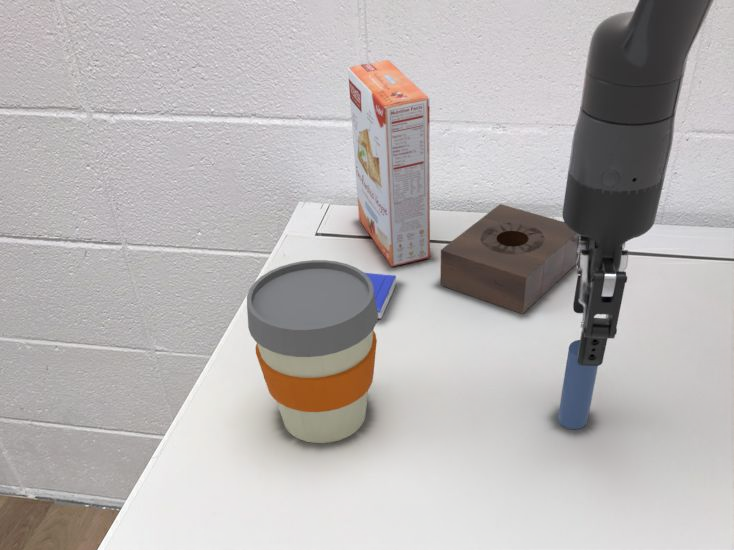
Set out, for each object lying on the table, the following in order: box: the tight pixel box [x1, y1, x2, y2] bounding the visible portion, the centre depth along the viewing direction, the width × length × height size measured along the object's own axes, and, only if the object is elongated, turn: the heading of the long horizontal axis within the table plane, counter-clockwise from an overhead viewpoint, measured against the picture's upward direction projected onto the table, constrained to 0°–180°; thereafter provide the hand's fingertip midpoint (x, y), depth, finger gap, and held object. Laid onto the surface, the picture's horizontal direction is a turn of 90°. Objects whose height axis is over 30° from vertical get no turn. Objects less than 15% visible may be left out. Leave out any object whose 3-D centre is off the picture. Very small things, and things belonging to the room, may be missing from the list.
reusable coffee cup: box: [246, 259, 379, 444], centre depth 81 cm, size 13×13×15 cm
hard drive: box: [364, 272, 397, 320], centre depth 101 cm, size 2×8×12 cm
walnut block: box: [439, 203, 579, 315], centre depth 101 cm, size 14×12×5 cm
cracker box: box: [347, 59, 431, 268], centre depth 103 cm, size 14×6×21 cm, turn 18°
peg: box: [557, 339, 599, 430], centre depth 80 cm, size 3×3×9 cm
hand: (586, 336), depth 76 cm, fingers open, 8 cm apart
